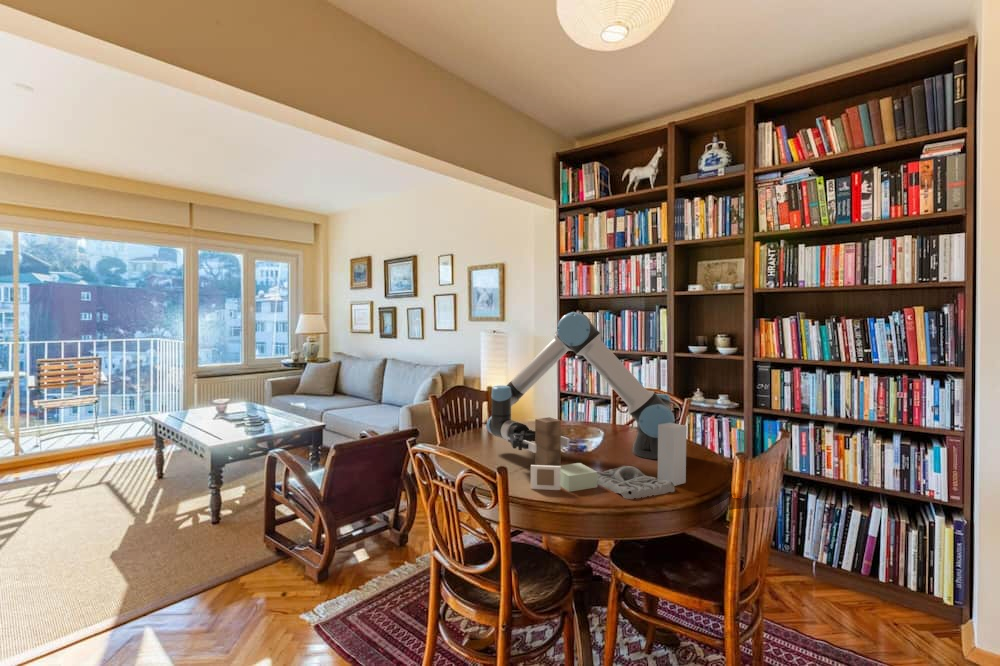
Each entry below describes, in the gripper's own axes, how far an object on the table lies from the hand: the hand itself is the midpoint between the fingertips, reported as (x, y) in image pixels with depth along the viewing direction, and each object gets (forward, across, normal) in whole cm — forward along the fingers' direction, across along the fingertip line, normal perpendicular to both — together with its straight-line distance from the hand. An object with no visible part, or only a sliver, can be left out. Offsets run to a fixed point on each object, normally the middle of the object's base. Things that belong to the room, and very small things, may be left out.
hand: (552, 445), depth 159 cm
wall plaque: (+18, -16, -11) cm, 27 cm away
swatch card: (+9, +9, -10) cm, 16 cm away
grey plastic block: (+25, -28, -10) cm, 39 cm away
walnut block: (-2, 0, -10) cm, 10 cm away
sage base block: (+10, -1, -10) cm, 14 cm away
